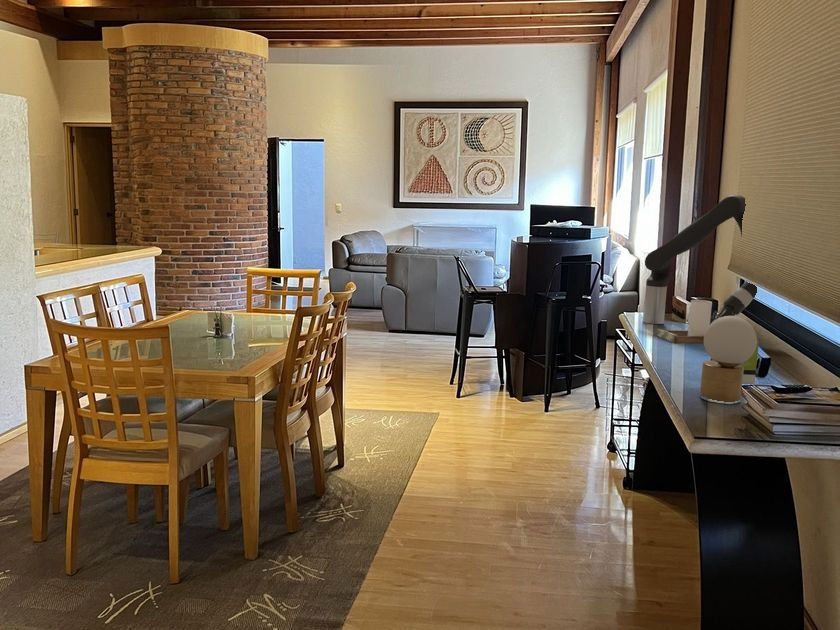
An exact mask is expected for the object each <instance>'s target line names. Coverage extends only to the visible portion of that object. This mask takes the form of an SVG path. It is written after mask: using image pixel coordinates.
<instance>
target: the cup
mask: <svg viewBox="0 0 840 630" xmlns="http://www.w3.org/2000/svg"><path fill="white" fill-rule="evenodd" d="M712 307H713V301H710V300H704V299H691V300H690V308H689V316H688V317H689V320H688V329H687V330H688V336H704V335H705V332H706V330H707V328H708V326H709V325H710V324H711V318H712Z"/></svg>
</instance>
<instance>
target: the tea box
mask: <svg viewBox="0 0 840 630" xmlns="http://www.w3.org/2000/svg"><path fill="white" fill-rule="evenodd" d="M759 343H760V342H759V340H757V346H756V349H755V352H754V353H753V355H752V356H751V357H750V358H749V359H748V360H747V361H745V362H743V363H742V364H740V365H742V366H744V373H743V382H742V384H754V385H755V382H756V374H757V373H756V372H757V361H758V355H759V354H758V353H759ZM709 357H710V356H709ZM711 360H713V359H712V358H711V357H710V358H709V361H711Z"/></svg>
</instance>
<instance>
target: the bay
mask: <svg viewBox="0 0 840 630" xmlns="http://www.w3.org/2000/svg"><path fill="white" fill-rule="evenodd" d="M656 335H657V336H656V337H658V336H659V337H658V338H661V337H662V338H661V339H663V338H664V340H666V339H667V340H666V341H668V340H669V341H668V342H671V343H673V342H674V344H689V343H690V344H704V336H688V329H662V328H656Z"/></svg>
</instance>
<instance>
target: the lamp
mask: <svg viewBox="0 0 840 630" xmlns="http://www.w3.org/2000/svg"><path fill="white" fill-rule="evenodd" d="M757 341H758V337H757V333H756V330H755V329H754V327H753V325H751V324H750V323H749V322H748V320H745V319H744V318H742V317H739V316H737V315H734V316H724V317H721V318H718V319H716V320H715V321H713V322H712V321H711V322H710V325H709V326H708V328H707V330H706V332H705V335H704V343H703V345H704V349H705V351H706V353H707V355H708V356H709V357H711V358H712V359H713V360H711V361H710V360H704V361H702V367H701V368H702V369H701V377H700V387H699V396H700V395H701V396H703V397H706V398H708V399H712V400H717V401H724V402H735V401H739V400H740V399H741V398H742V391H741V390H740V389H741V387H742V388H743V386H742V382H743V373H744V366H742V365H740V364H742V363H743V362H745V361H747V360H748V359H749V358H750V357H751V356H752V355H753V353H754V352H755V349H756V346H757ZM741 400H742V399H741Z"/></svg>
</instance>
